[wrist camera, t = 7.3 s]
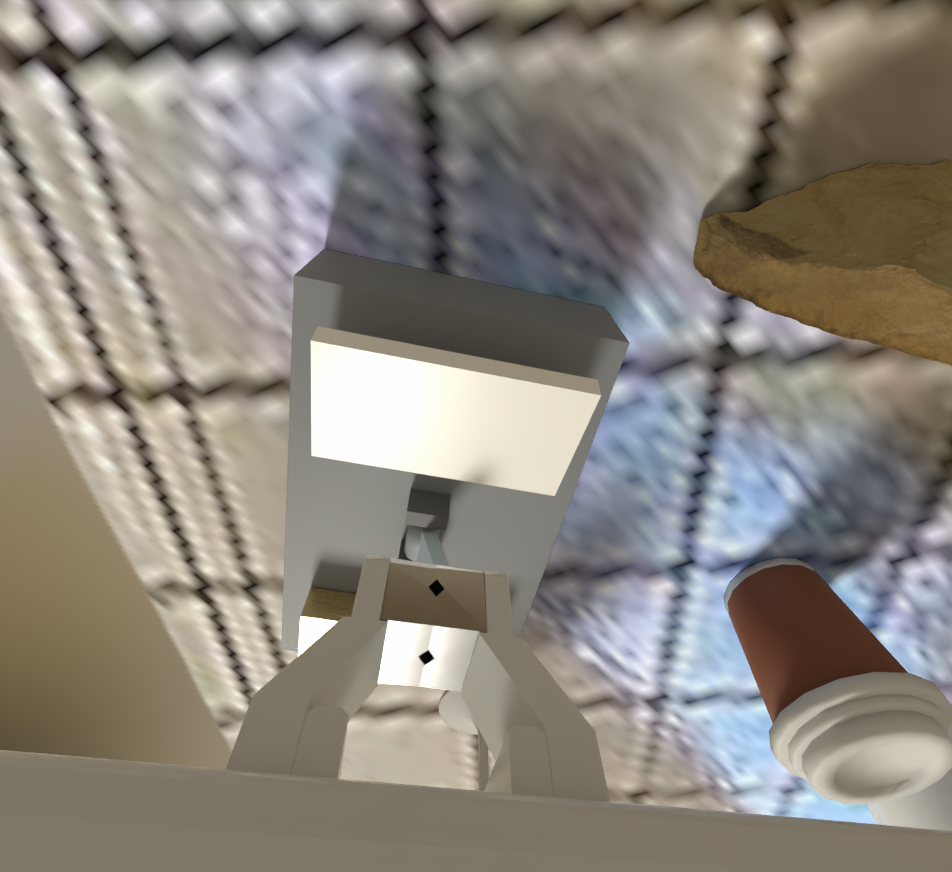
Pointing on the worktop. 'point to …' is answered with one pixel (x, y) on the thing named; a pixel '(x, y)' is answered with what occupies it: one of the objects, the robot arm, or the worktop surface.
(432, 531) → the paddle
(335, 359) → the white slab
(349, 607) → the gold rectangular block
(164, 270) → the worktop surface
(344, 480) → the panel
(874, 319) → the rock
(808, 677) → the coffee cup
